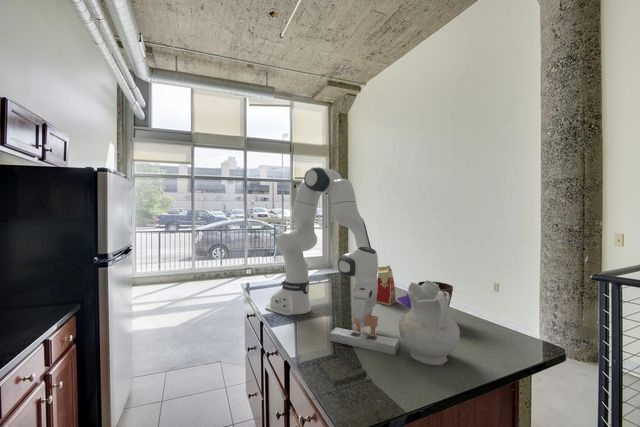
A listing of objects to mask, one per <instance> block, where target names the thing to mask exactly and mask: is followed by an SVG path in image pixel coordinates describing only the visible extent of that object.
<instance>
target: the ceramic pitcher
mask: <svg viewBox="0 0 640 427" xmlns="http://www.w3.org/2000/svg"><path fill="white" fill-rule="evenodd" d="M425 281H427V282H425ZM425 281H424V282H425V283H424V284H423V285H421V286H418V283H416V282H410V284H409V285H408V288H407V293H408V296H409V298H410V301H411V307H410V310H409V311H408V312H407V313H405V314H404V315H403V316H401V318H400V319H399V321H398V332H399V335H400V338H401V340H402V342H403V344H404V346H405V347H407V349H408V350H410V352H409V353H410V354H409V355H410V357H411V359H414V360H415V361H417V362H420V363H422V364H425V365H429V366H443V365H444V364H446V362H448V360H449V359H448V358H447V356H450V355H451V354H452V353H453V352H454V351H455V350H456V348H457V347H458V345H459V343H460V337H461V336H460V335H461V331H460V328H459V326H458V324H457V323H456V322H455V321H454V319H452V318H451V317H450V316H449V312H450V311H449V308H448V304H449V301H450V295H449V293H447V292H446V291H441V290H440V288H439V286H438V285H439V284H438V285H437V284H435V283H433V282H434V281H430V280H425ZM450 302H451V301H450Z"/></svg>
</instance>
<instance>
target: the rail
mask: <svg viewBox="0 0 640 427" xmlns="http://www.w3.org/2000/svg"><path fill="white" fill-rule="evenodd" d="M332 341H333V343H337V342H338V344H341V345H346V344H347V345H348V346H352V347H355V348H357V347H358V348H362V349H366V350H371V351H376V352H379V353H380V352H381V353H384V354H390V355H394V356H396V354H397V351H398V349H399V339H398V338H393V337H389V336H382V335H378V334H375V335H373V334H371V333H367V332H357V331H356V330H351V329H346V328H341V327H335V328H334V329H333V330H331V331H330V332H329V342H332Z"/></svg>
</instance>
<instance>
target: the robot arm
mask: <svg viewBox="0 0 640 427" xmlns="http://www.w3.org/2000/svg"><path fill="white" fill-rule="evenodd" d="M323 194H325V195H329V201H330V206H331V207H330V209H331V216H332V217H333V220H335V221H336V222H337V224H339V225H341V226H343V227H346V228H347V229H348V230H349V231H351V233H352V234H353V237H354V240H355V245H356V248H357V249H355V250H354V251H352V252H348V253H344V254H342V255H340V256H339V257H338V260H337V269H338V273H340V274H341V275H342V276H343V277H346V278H349V277H350V278H351V277H354V280H355V284H354V288H353V290H352V294H351V295H352V296H351V297H352V298H353V300H352V301H353V304H352V305H353V318H354V317H355V318H357V319H359V323H360V327H361V329H363V328H365V327H366V326H365V321H364V319H365V317H366V316H367V315H373V309H374V307H376V305H377V303H376V294H377V293H378V267H379V258H378V257H379V256H378V252H377V250H375V249H374V248H372V246H371V242H370V239H369V235H368V230H367V226H366V222H365V221H364V218H363V217H362V216H361V215H360V212H359V209H358V204H357V199H356V198H357V197H356V194H355V190H354V187H353V184H352V182H351V180H349V179H346V178H345V175H343V174H342V173H341V172H339V171H337V170H334V169H331V168H325V167H319V166H314V167H313V166H312V167H310V168H309V169H307V171H306V172H305V173H304V178H303V181H301V182H300V184H299V187H298V189H297V192H296V195H295V200H294V204H293V209H292V213H291V217H292V219H293V220H294V229H292V230H286V231H283V232H281V233H279V235H278V236H277V237H276V239H275V240H276V241H275V243H276V244H275V245H276V248H277V249H278V251H279V252H280V253H281V255H282V256H283V259H284V260H283V261H284V264H285V266H284V267H285V280H283V281H281V282H280V285H282V286H281V288H280V289H279V290H277V291H276V292H274V293H273V294H272V295H271V298H270V302H269V303H268V304H266V305H265V308H264V309H265V310H267V311H270V312H272V313H273V312H274V313H277V314H280V315H284V316H292V315H304V314H308V313H309V312H311V311H312V307H311V303H310V297H309V296H310V295H309V292H310V280H309V264H308V262H307V261H306V260H305V256H304V252H307V251H310V250H311V249H313V248H314V247H316V246H317V243H318V237H317V234H316V232H315V219H316V216H317V215H316V214H317V209H318V206H319V201H320V197H321V196H322V195H323Z"/></svg>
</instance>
